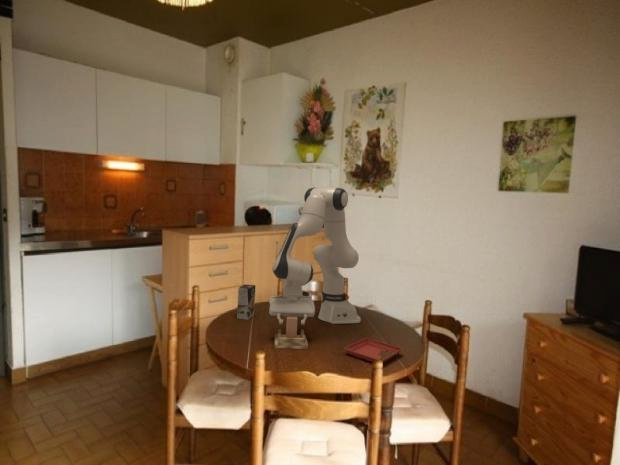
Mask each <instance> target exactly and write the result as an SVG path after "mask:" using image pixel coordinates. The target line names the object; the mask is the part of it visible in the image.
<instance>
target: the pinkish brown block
mask: <svg viewBox="0 0 620 465" xmlns="http://www.w3.org/2000/svg"><path fill="white" fill-rule="evenodd" d="M285 326H286V327H285V335H286V338H297V335H298V334H297V333H298V316H286V325H285Z"/></svg>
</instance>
